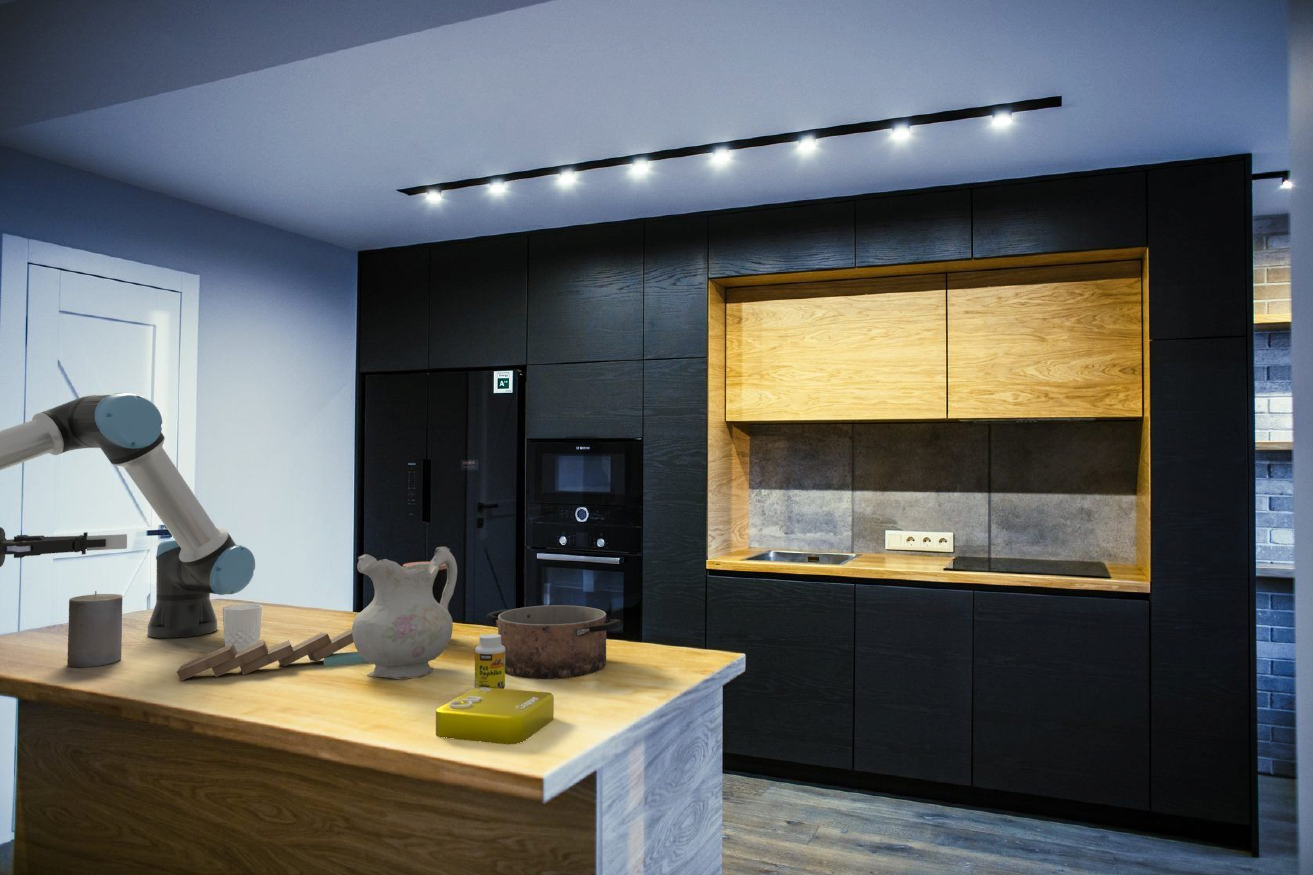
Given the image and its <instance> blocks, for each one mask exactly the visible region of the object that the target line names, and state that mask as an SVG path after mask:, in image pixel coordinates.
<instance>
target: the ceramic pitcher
mask: <svg viewBox="0 0 1313 875" xmlns="http://www.w3.org/2000/svg"><path fill="white" fill-rule="evenodd" d="M434 550H435V551H434V556H433V557H432V559H431V560H430V561H429V562H430V563H429V564H415V565H412V566H407V567H405V568H404V567H403V565H402V566H401V565H400V564H399V563H398V562H396V561H393V560H389V559H387V558H384V559H379V560H377V558H375V557H374V556H372V555H370V554H365V553H364V554H362V555H360V556H358V557H357V559H358V562H357V571H358V572H359V573H360V574H363V575H366V576H368V577H369V578H370V579H371V581H372V584H373V589H374V597H373V599H372V601H371V602H370V603H369V604H368V605H367V606H365V607H364V608H363V610H362V611H360V612H359V613H357V614H356V615H355V617H354V619H353V622H352V626H351V629H352V636H353V640H354V642H353V643H354V647H355V649H356V652H358V653H359V654H360V655H361V657H362V658H363V659H364V660H366V661H367V662H370V663H371V664H374V665H375V666H374V669H373V671H371V672H369V673H367V674H366V676H367V677H379V678H383V677H384V678H389V679H395V680H404V679H405V680H406V679H410V678H423V677H424V676H426V675H428V674H431V672H433V670H434V668H433V667H431V665H430V664H429V662H431V661H433V660H434V661H435V659H437V658H438V657H439V656H440V655H442V653H443V652H444V651H445V650H446V648H447V647H448V645H449V643H450V641H451V638H452V635H453V628H454V627H453V626H454V625H453V618H452V614H451V613H450V611H449V612H448V603H449V604H450V600H451V599H452V597H453V595H454V591H455V587H456V583H457V578H458V577H457V576H458V565H457V561H456V559H455V556H454V555H453V553H452V552H451V548H449V547H447V545H445V546H444V545H442V546H439V547H436V548H435V549H434ZM443 564H445V565H446V567H447V583H446V585H445V588H444V590H443V594H442V598H441V602H440V604H439V603H437V601H436V600H435V599H434V597H433V593H432V587H433V583H434V579H435V577H436V575H437V573H438V569H439V567H440V566H441V565H443Z"/></svg>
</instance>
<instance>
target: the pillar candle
mask: <svg viewBox="0 0 1313 875" xmlns="http://www.w3.org/2000/svg"><path fill="white" fill-rule="evenodd" d="M123 597H124V596H123V594H117V593H97V590H94V594H85V595H78V596H74V597H70V598H69V600H68V634H67V666H69V667H74V668H85V667H86V668H87V667H91V668H92V667H99V666H104V665H109V664H110V665H111V664H114V663H117V662H118V661H120V660H121V659H122V645H123V644H122V641H123V640H122V639H123V636H122V635H123Z"/></svg>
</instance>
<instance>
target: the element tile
mask: <svg viewBox="0 0 1313 875" xmlns="http://www.w3.org/2000/svg"><path fill="white" fill-rule="evenodd" d="M554 705H555V703H554V694H553V693H552V692H545V691H537V690H536V691H535V690H521V689H511V688H505V689H500V688H488V687H478V688H475V687H474V688H473V689H471V690H469V691H467V692H465V693H463V694H462V695H460V696H457V697H455V698H454V699H452V700H450V701H448V702H446V703H445V704H443V705H441V706H438V708H436V710H435V736H436V737H438V738H441V737H445V738H444V739H450V738H454V739H453V740H461V741H462V740H463V741H471V742H479V741H481V742H480V743H490V742H491V743H490V744H500V745H518V744H517V743H519V744H521V743H520V742H522V743H523V741H524V742H525V741H527V740H528V739H529V737H530V738H531V737H532V736H534V735H535V734H536V733H538V732H539V731H540V730H542V729H543V728H544V727H546V726H548V724H550V723H551V722H553V721H554V718H555V717H554V716H555V715H554V711H555V710H554V708H555V707H554ZM533 734H534V735H533ZM446 737H447V738H446ZM526 739H527V740H526Z"/></svg>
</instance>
